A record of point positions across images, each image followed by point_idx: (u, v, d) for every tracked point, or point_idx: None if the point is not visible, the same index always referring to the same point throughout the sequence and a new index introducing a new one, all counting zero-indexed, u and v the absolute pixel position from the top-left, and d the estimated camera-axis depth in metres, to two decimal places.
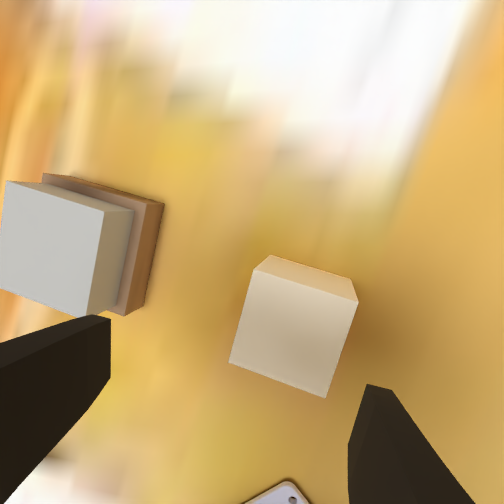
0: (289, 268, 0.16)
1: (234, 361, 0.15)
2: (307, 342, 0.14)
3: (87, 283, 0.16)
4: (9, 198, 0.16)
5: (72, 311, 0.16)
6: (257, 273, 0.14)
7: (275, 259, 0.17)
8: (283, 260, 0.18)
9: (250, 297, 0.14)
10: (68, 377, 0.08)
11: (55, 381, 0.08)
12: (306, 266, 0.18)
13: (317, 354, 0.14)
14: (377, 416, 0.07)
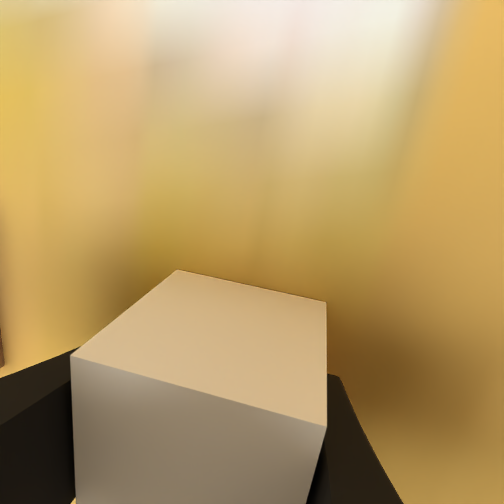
0: (191, 312, 0.08)
1: None
2: (220, 503, 0.06)
3: None
4: None
5: None
6: (81, 364, 0.06)
7: (176, 285, 0.09)
8: (195, 283, 0.09)
9: (81, 414, 0.06)
10: None
11: None
12: (240, 289, 0.09)
13: None
14: None
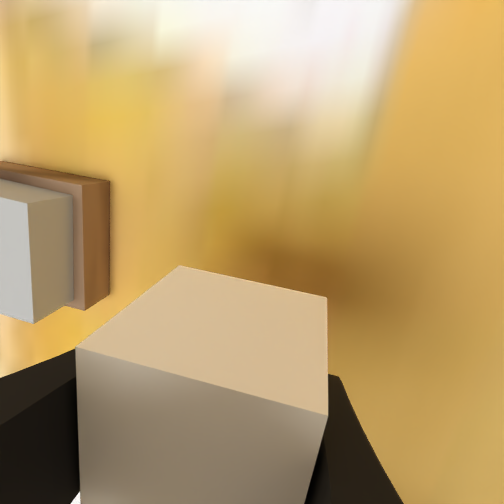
0: (193, 306, 0.08)
1: None
2: (222, 492, 0.06)
3: (27, 285, 0.14)
4: None
5: (18, 315, 0.15)
6: (86, 355, 0.06)
7: (179, 280, 0.09)
8: (197, 278, 0.09)
9: (86, 405, 0.06)
10: None
11: None
12: (241, 284, 0.09)
13: None
14: None
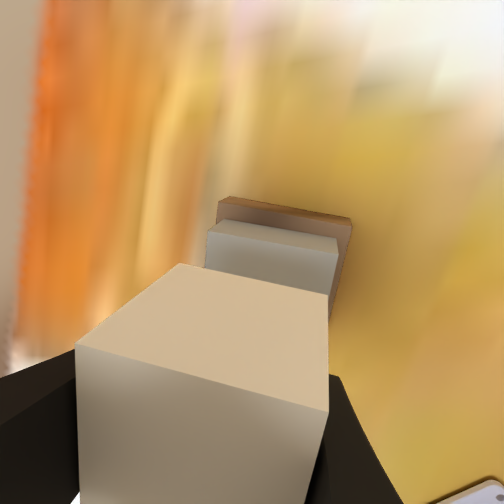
0: (193, 303, 0.08)
1: None
2: (222, 490, 0.06)
3: None
4: (213, 249, 0.14)
5: None
6: (85, 352, 0.06)
7: (179, 278, 0.09)
8: (197, 276, 0.09)
9: (85, 401, 0.06)
10: None
11: None
12: (242, 282, 0.09)
13: None
14: None
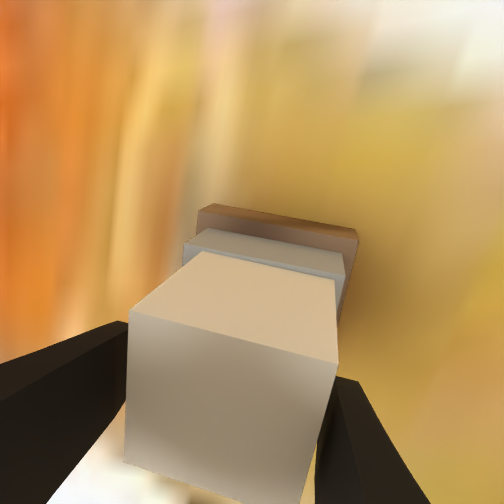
0: (220, 283, 0.09)
1: (133, 460, 0.09)
2: (248, 433, 0.07)
3: None
4: None
5: None
6: (137, 317, 0.07)
7: (204, 263, 0.10)
8: (219, 261, 0.11)
9: (135, 360, 0.08)
10: (98, 386, 0.08)
11: (86, 390, 0.08)
12: (259, 267, 0.11)
13: (271, 453, 0.07)
14: (338, 406, 0.07)
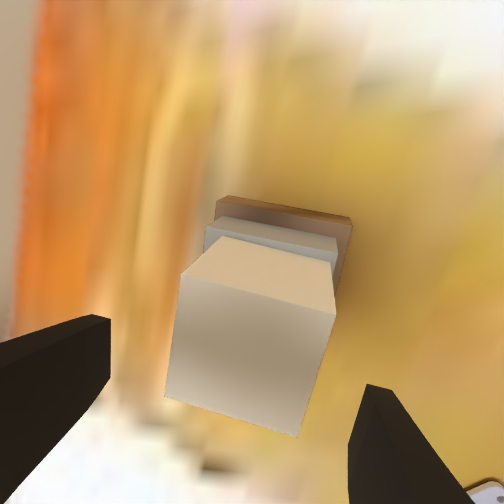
0: (242, 259, 0.12)
1: (172, 395, 0.11)
2: (266, 369, 0.10)
3: None
4: (211, 245, 0.14)
5: None
6: (187, 279, 0.10)
7: (226, 244, 0.13)
8: (238, 244, 0.13)
9: (182, 313, 0.10)
10: (68, 377, 0.08)
11: (55, 381, 0.08)
12: (270, 250, 0.13)
13: (282, 384, 0.10)
14: (377, 416, 0.07)
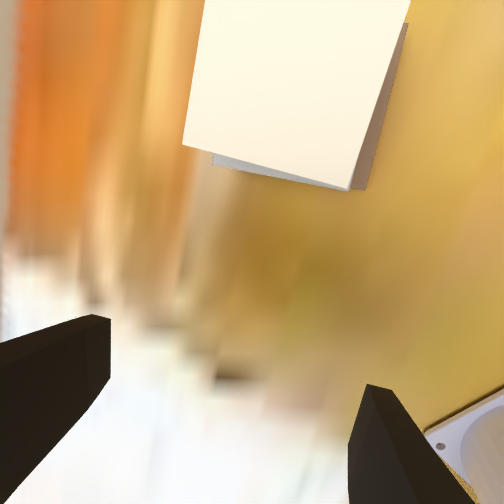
0: None
1: (192, 141, 0.09)
2: (315, 83, 0.08)
3: None
4: None
5: None
6: None
7: None
8: None
9: (212, 4, 0.08)
10: (68, 377, 0.08)
11: (55, 381, 0.08)
12: None
13: (335, 105, 0.08)
14: (377, 416, 0.07)
